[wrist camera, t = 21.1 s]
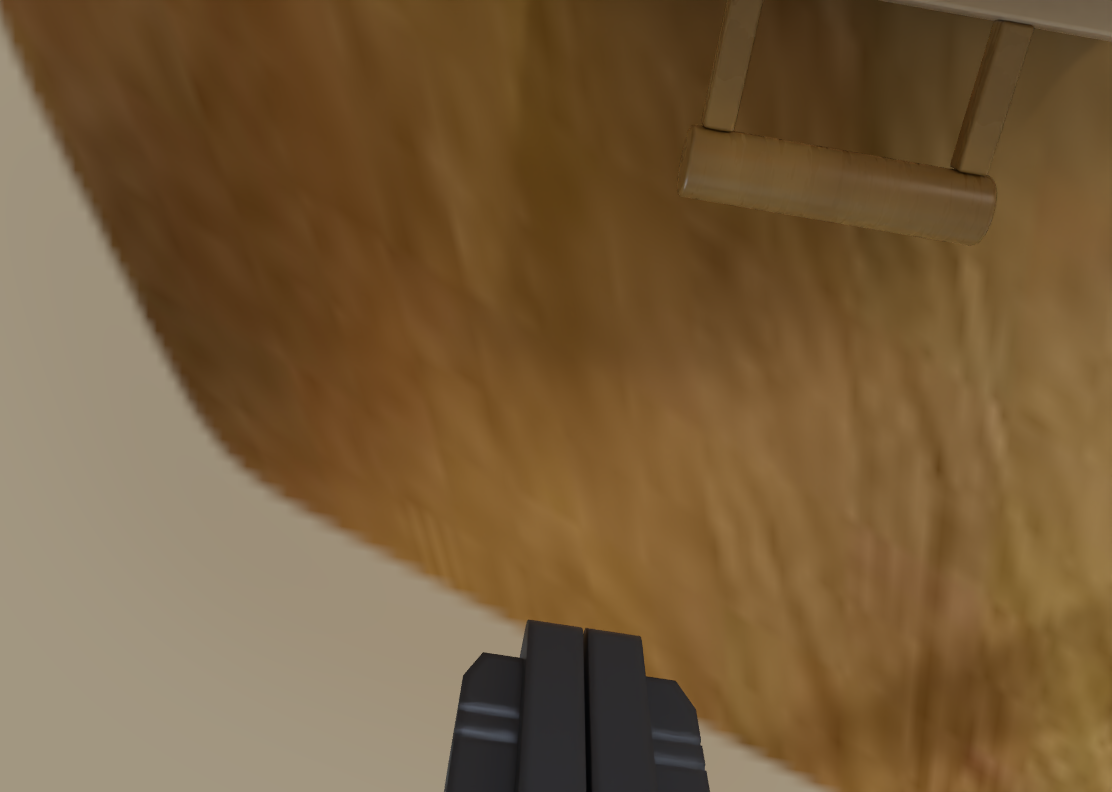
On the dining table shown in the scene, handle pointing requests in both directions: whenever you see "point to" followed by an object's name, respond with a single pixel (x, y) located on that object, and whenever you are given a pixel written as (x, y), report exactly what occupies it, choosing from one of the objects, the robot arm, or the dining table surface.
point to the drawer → (860, 179)
